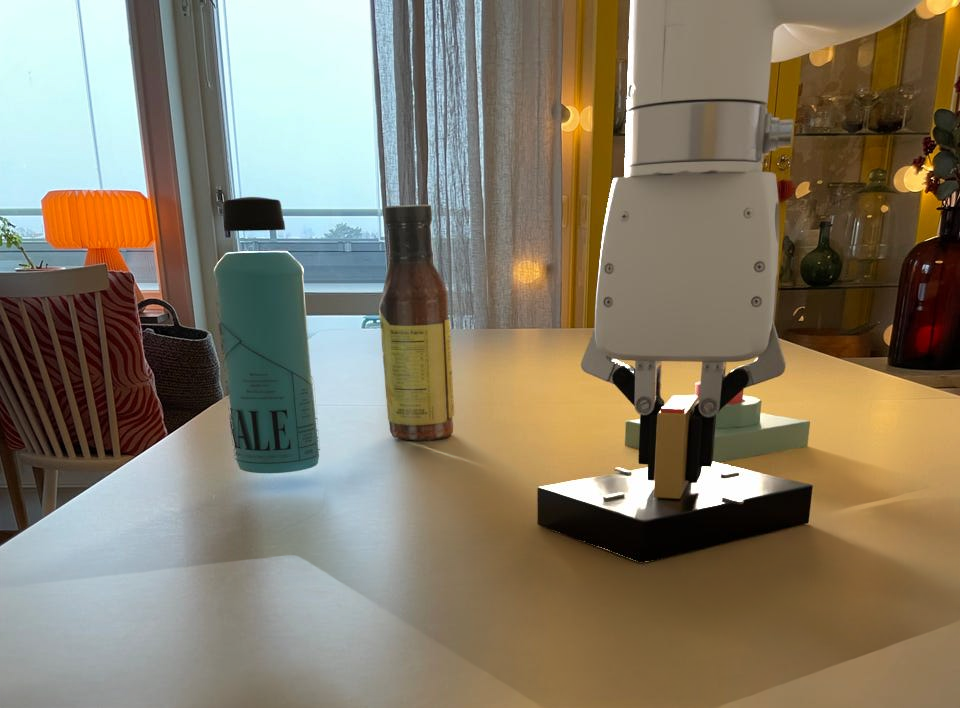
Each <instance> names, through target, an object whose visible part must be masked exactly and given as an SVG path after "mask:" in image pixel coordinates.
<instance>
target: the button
mask: <svg viewBox="0 0 960 708" xmlns="http://www.w3.org/2000/svg"><path fill="white" fill-rule="evenodd" d="M700 383H701V380H700V381H696V382H695V385H694V395H695V396H698V401H699V394H700ZM744 390H745V388H744V389H743V390H742V391H741V392H740V393H738V394H737V395H736V396H735V397H734V398H733V399H732V400H731V401H730V402H728V403H727V404H734V403H741V402H743V395H744Z"/></svg>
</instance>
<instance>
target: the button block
mask: <svg viewBox="0 0 960 708" xmlns="http://www.w3.org/2000/svg"><path fill="white" fill-rule="evenodd" d="M686 396H695V394H688V395H686ZM761 411H762V399H760V398H758V397H756V396H752V395H751V396H750V395H744V394H743V402H741V403H734V404H726V405H725V406H724V407H723V408H722V409H721V410H719V411H718V412H717V414H716V426H715V439H714V453H713V462H715V463H724V462H729V461H735V460H740V459H745V458H751V457H756V456H763V455H767V454H773V453H774V454H775V453H779V452H785V451H789V450H794V449H800V448H806V447H808V445H809V436H810V428H811V420H807V419H799V418H794V417H787V416H781V415H777V414H770V413H765V412H761ZM624 423H625V424H624V425H625V426H624V446H625V447H629V448H634V449H637V450H639V435H640V418H637V419H636V418H635V419H630V420H625V422H624Z"/></svg>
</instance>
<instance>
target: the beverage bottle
mask: <svg viewBox="0 0 960 708" xmlns="http://www.w3.org/2000/svg"><path fill="white" fill-rule="evenodd" d="M223 201H224V202H223V218H224V219H223V231H224V232H254V231H255V232H257V231H260V232H261V231H262V232H263V231H286V224H285V220H284V215H283V209H282V203H281V201H280V200H279V199H275V198H270V197H263V196H245V197H237V198H231V199H225V200H223ZM220 258H221V259H220V260H219V261H218V262H217V263H216V265H215V267H214V269H213V275H214V277H215V284H216V291H217V301H218V302H216V305H217V307H218V312H219V313H218V312H216V314H217V316H218V319H219V321H220V323H219V324H218V330H219V332H218V333H220V348H221V354H222V355H223V356H224V359H223V361H222V362H223V364H222V367H223V368H224V364H225V368H224V372H225V373H226V381H225V382H224V383H225V384H226V386H225V389H226V391H225V392H226V396H227V398H228V400H229V406H230V407H229V406H227V409H228V410H229V411H230V414H228V417H229V425H230V430H231V431H230V433H231V436H232V440H231V441H232V442H231V443H232V444H233V447H234V448H233V450H232V452H233V453H234V455H233V457H234V460H236V463H237V465H238V468H239V469H240V470H241V471H243V472H246V473H247V472H248V473H253V474H283V473H284V474H285V473H292V472H293V473H294V472H299V471H304V470H309V469H311V468H314V467H315V466H317V465H318V464H319V458H320V451H321V448H319V446H320V440H319V436H318V435H320V434H319V433H320V432H319V431H318V426H317V424H319V423H318V417H317V415H316V413H318V412H317V411H318V410H317V409H316V404H315V402H316V401H317V400H316V398H315V393H314V391H315V390H316V389H315V387H314V382H315V381H314V378H313V376H312V368H311V356H310V345H309V344H310V343H309V333H308V319H307V309H306V308H307V307H306V295H305V294H306V293H305V283H304V273H305V272H304V270H305V269H304V266H303V265H302V264H301V263H300V261H298V259H296V258H295V256H294V255H292V254H291V253H290V252H289V251H287V250H272V251H271V250H269V251H268V250H267V251H264V250H263V251H235V252H234V251H233V252H226V253H224V255H223V256H222V257H220Z"/></svg>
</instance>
